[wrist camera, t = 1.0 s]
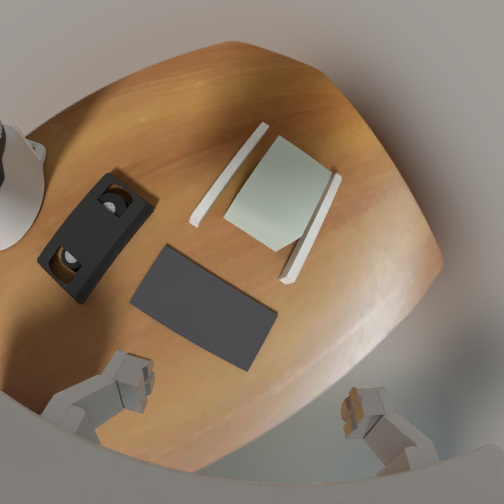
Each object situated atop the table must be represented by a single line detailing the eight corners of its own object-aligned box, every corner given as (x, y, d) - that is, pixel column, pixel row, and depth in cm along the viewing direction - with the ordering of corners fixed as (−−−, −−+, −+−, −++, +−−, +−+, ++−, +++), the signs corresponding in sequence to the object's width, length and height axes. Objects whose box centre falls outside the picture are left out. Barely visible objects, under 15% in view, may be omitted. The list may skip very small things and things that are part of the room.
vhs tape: (110, 178, 32) (107, 171, 30) (153, 212, 33) (153, 206, 31) (42, 263, 27) (35, 260, 26) (84, 304, 28) (79, 303, 26)
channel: (129, 302, 30) (126, 301, 27) (252, 128, 40) (257, 118, 37) (246, 371, 32) (252, 375, 29) (337, 187, 42) (346, 180, 40)
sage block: (223, 217, 35) (237, 193, 28) (259, 164, 39) (279, 135, 32) (275, 252, 36) (301, 236, 29) (305, 195, 40) (332, 172, 33)
